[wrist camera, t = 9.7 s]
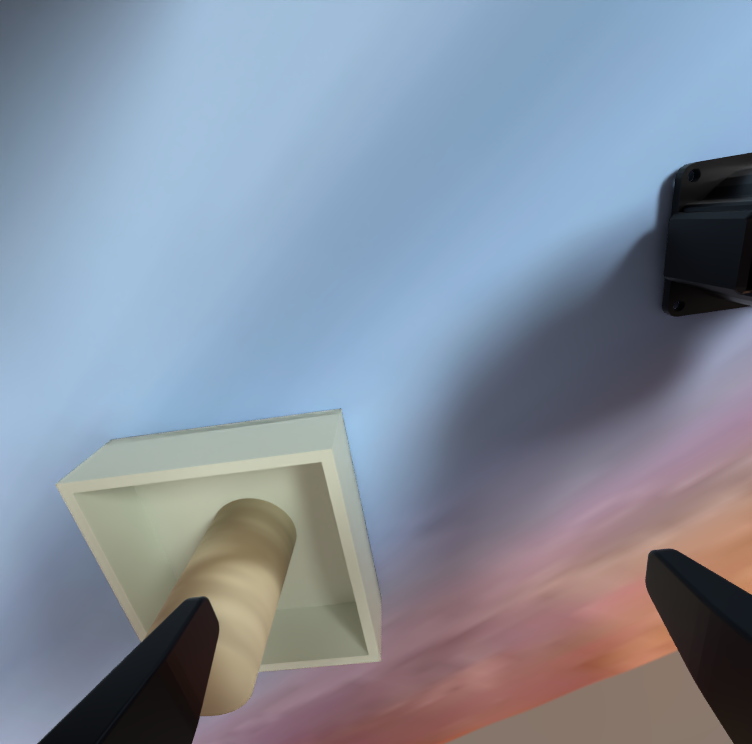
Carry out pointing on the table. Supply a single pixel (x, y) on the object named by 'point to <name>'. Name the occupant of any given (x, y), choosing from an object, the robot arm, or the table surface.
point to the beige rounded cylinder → (237, 593)
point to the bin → (203, 501)
